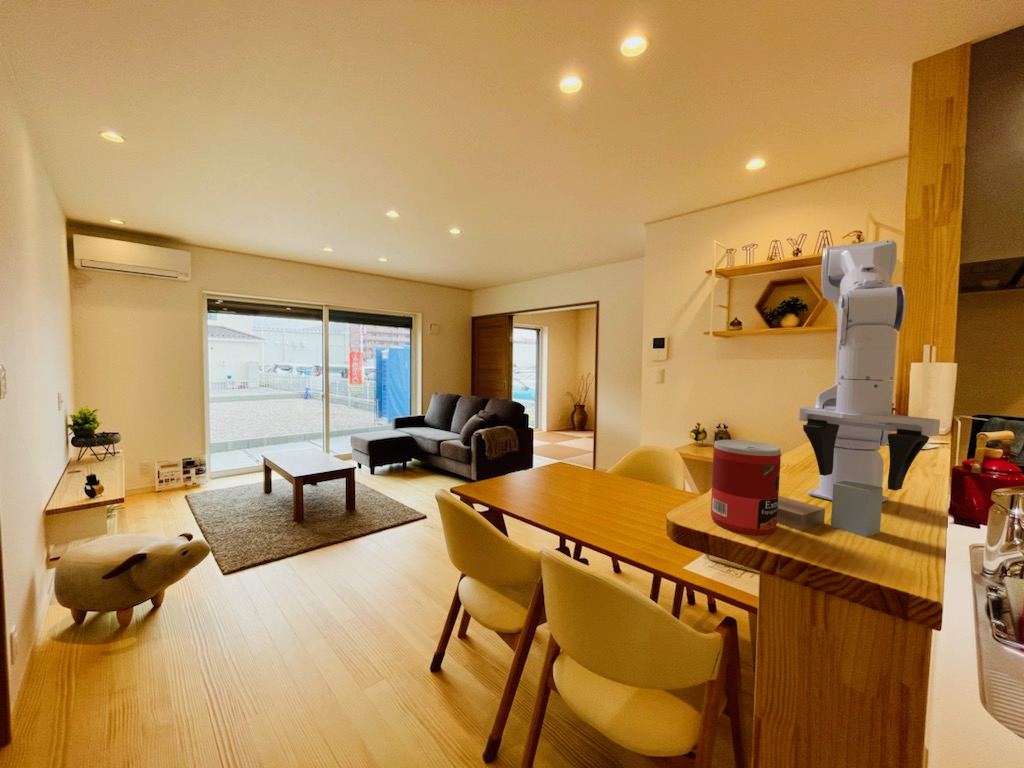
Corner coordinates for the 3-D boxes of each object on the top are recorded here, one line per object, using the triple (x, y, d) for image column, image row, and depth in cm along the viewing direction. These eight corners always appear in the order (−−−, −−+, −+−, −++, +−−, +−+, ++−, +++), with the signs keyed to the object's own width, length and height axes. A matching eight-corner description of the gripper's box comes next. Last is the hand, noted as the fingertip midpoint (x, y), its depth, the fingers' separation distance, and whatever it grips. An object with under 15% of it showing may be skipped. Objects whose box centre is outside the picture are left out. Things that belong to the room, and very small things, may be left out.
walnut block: (779, 512, 64) (780, 496, 64) (824, 525, 59) (825, 508, 59) (756, 518, 61) (756, 501, 61) (800, 533, 56) (802, 515, 56)
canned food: (773, 541, 52) (778, 453, 52) (704, 525, 57) (707, 444, 57) (779, 523, 58) (784, 444, 58) (716, 510, 63) (720, 437, 63)
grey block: (844, 521, 60) (847, 479, 60) (880, 532, 56) (883, 487, 56) (830, 526, 58) (833, 483, 58) (866, 537, 54) (869, 491, 54)
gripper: (790, 377, 60) (784, 471, 61) (926, 382, 48) (918, 501, 48) (815, 377, 64) (810, 466, 65) (949, 382, 51) (940, 493, 52)
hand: (858, 481), depth 57 cm, fingers open, 7 cm apart
